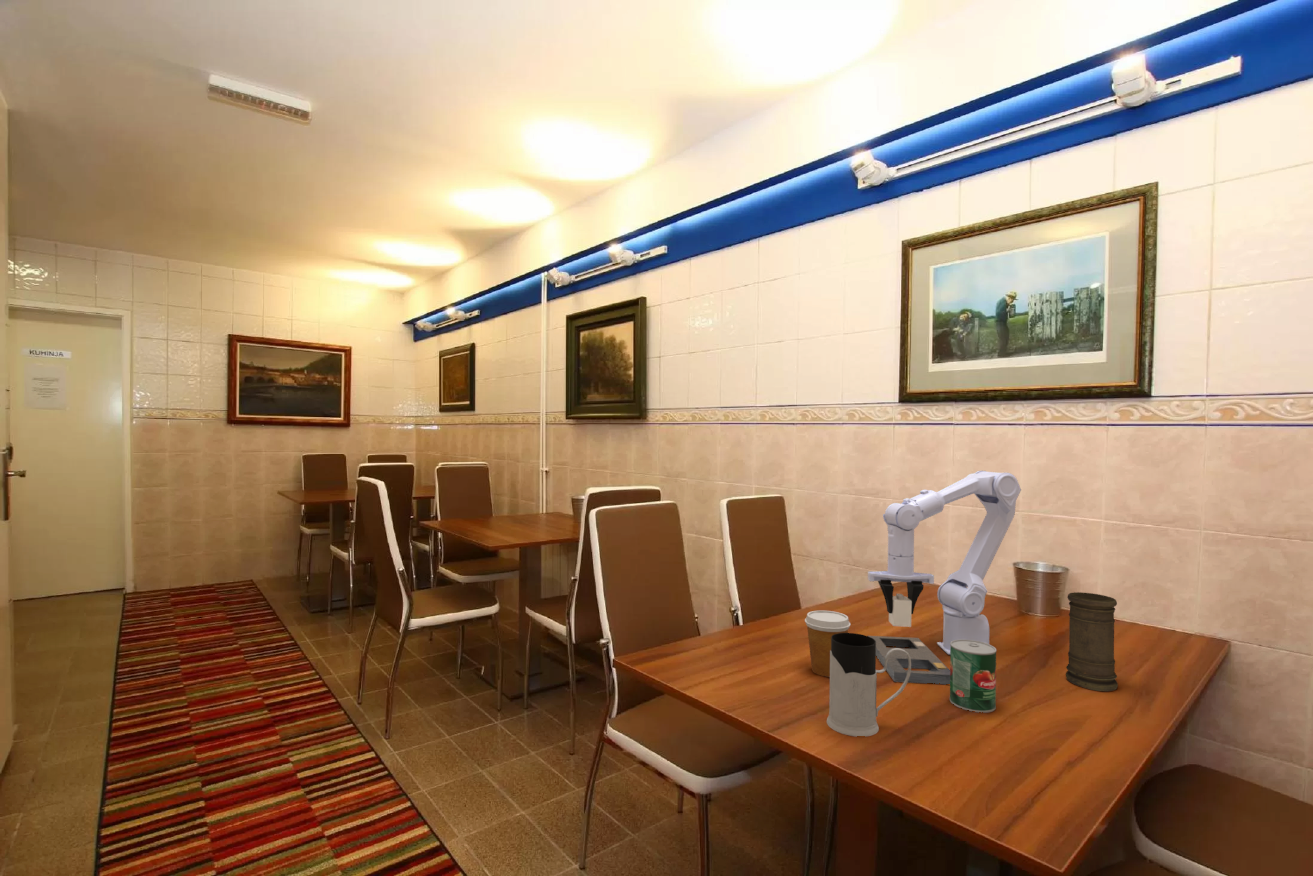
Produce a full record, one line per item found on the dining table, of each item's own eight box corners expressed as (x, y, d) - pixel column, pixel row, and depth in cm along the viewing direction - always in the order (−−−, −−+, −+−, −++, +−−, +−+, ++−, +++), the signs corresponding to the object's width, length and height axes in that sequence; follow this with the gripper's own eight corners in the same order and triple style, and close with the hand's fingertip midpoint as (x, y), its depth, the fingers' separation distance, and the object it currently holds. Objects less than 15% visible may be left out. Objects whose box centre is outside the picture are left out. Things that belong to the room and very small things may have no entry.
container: (1102, 695, 123) (1103, 604, 123) (1056, 679, 131) (1057, 594, 131) (1127, 687, 127) (1128, 599, 127) (1080, 672, 135) (1081, 589, 135)
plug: (906, 621, 147) (906, 593, 147) (911, 626, 143) (911, 597, 143) (888, 621, 148) (889, 592, 148) (893, 626, 144) (893, 596, 144)
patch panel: (918, 646, 151) (918, 637, 151) (954, 685, 127) (954, 674, 127) (867, 643, 152) (867, 635, 152) (894, 681, 128) (894, 671, 128)
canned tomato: (994, 716, 113) (995, 656, 113) (946, 706, 117) (947, 648, 117) (997, 701, 120) (997, 644, 120) (952, 692, 124) (952, 636, 124)
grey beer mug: (822, 712, 114) (823, 630, 114) (902, 716, 112) (903, 634, 112) (831, 735, 105) (832, 646, 105) (918, 740, 104) (919, 650, 104)
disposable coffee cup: (852, 667, 136) (853, 613, 136) (846, 683, 127) (847, 624, 127) (808, 660, 140) (809, 607, 140) (800, 675, 131) (800, 618, 131)
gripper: (927, 552, 149) (926, 609, 149) (865, 550, 150) (864, 606, 150) (937, 558, 142) (936, 617, 142) (871, 556, 143) (871, 614, 143)
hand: (900, 612), depth 146 cm, fingers closed on plug, 4 cm apart
